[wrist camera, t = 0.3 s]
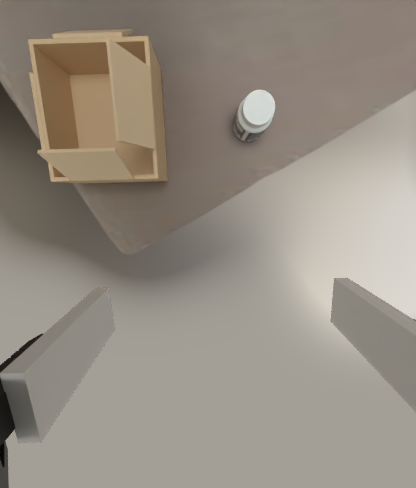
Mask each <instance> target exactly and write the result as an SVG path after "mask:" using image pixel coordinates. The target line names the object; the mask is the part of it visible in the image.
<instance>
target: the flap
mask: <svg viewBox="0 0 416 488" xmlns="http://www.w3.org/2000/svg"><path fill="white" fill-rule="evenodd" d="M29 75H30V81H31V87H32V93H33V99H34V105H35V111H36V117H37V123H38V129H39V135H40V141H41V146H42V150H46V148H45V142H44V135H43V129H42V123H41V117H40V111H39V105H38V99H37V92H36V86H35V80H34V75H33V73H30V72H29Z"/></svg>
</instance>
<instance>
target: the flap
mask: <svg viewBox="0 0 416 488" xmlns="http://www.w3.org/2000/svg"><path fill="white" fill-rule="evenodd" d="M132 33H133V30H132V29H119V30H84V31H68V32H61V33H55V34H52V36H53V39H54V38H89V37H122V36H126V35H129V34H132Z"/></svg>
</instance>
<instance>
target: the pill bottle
mask: <svg viewBox="0 0 416 488" xmlns="http://www.w3.org/2000/svg"><path fill="white" fill-rule="evenodd" d="M274 112H275V101H274V99H273V97H272V95H271V94H270V93H268V92H267V91H265V90H255V91H253V92H251V93H250V94H249V95H248V96H247V97H246V98H245V99H244V100H243V101H242V102H241V103H240V105H239V108H238V110H237V113H236V116H235V119H234V123H233V128H234V132H235V134H236V136H237V137H238V138H239V139H241V140H242V141H246V142H250V141H253V140H255V139H257V138H258V137H259V136H260V135H261V134H262V133H263V132H264V131H265V130H266V129H267V127H268V126H269V125H270V123H271V121H272V118H273V114H274Z"/></svg>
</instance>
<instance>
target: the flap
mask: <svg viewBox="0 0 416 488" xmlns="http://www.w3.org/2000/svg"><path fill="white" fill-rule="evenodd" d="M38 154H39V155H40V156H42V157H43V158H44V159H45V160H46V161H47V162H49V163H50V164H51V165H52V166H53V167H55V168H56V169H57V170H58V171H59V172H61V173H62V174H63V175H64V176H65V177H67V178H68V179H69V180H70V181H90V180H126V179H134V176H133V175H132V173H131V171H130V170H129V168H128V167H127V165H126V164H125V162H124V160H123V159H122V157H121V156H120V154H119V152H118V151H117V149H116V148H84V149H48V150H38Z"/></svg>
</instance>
